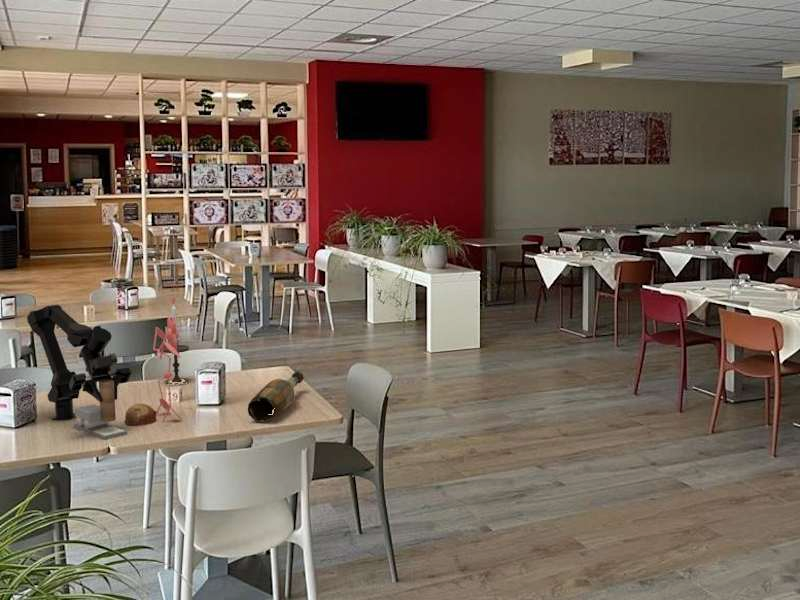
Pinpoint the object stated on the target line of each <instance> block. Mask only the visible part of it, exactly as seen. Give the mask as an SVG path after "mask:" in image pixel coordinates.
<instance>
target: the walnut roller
mask: <svg viewBox="0 0 800 600" xmlns="http://www.w3.org/2000/svg"><path fill="white" fill-rule="evenodd" d="M98 388H99V389H98V390H99V393H100V395H101V398H102V402H101V403H100V402H99V406H100V413H101V421H103V422H109V423H110V422H115V421H116V415H117V414H116V400H115V394H114V381H113V380H102V381H99V382H98Z"/></svg>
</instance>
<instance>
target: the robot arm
mask: <svg viewBox="0 0 800 600" xmlns="http://www.w3.org/2000/svg"><path fill="white" fill-rule="evenodd" d="M26 320H27V324H28V325H29V327H30V328H31V330H32V332H33V333H34V334H36V335H37V336H38V337H39V338H40V342H41V344H42V345H41V346H42V347H43V350H44V353H45V356H46V358H47V362H48V365H49V367H50V370H51V373H52V377H51V378H52V379H51V382H50V385H51V389H50V390H49V392H48V393H47V399H48V402H50V403H54V409H55V413H54V414H55V415H54V416H53V417H51V419H52V420H72V419H73V418H74V417H76V416H75V412H74V399H79V397H80V396H79V395H80V391H81V390H82V392H86V393H87V394H89V395H91V396H92V397H93V398H94V399H96V401H98V402H99V404H100V403H101V402H102V398H101V395H100V393H99V389H98V388H99V387H98V386H97V383H99V381H102V380H113V381H114V394H115V401H117V400H118V386H119V385H120V384H125V383H128V382H129V380H130V378H131V376H132V373H133V372H132V370H131V368H130V367H128V366H125V367H123V366H122V367H117V368H116V370H115V372H113V373H109V372H110V371H111V370H112V369H111V367H113V366H114V365H115V364H118V358H117V355H116V353H109V355H105V356H103V355H102V353H103V351H104V350H106V347H108V345H109V343H110V342H111V340H112V337H113V336H112V334H111V331H109V330H107V329H106V328H103V327H102V326H101V325H96V326H93V328H92V327H90V326H88V325H86V324H82V323H79V322H78V321H76V320H75V319H74V318H73V317H72V316H70V315H69V314H68V313H67V312H66V311H65V310H64V309H63V308H62V306H61V305H60V304H51V305H46V306H44V307H43V308H40V309H37V310H31V311H29V314H28V315H27V318H26ZM56 326H58V327H59V328H60V329H61V330H62V331H63V332H64V333H65V334H66V335H67V337H66V338H67V339H66V340H67V341H68V342H69V343H70V345H71V346H72V347H73V348H78V347H82V348H81V349H80V352H79V354H78V358H82V361H83V362H84V365H85V372H86V373H87V372H88V375H87V374H86V373H84V372H83V373H77V374H76V372H75V371H74V370H73V371H71V370H69V369H68V367H67V364H66V361H65V357H64V356H63V353H62V350H61V348H60V345H59V342H58V338H57V336H56V333H55V328H56ZM101 352H102V353H101Z"/></svg>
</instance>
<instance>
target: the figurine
mask: <svg viewBox="0 0 800 600" xmlns="http://www.w3.org/2000/svg"><path fill="white" fill-rule="evenodd" d="M166 323H167V325H166V327H167V328H166V329H165V331H163V330H162V329H160V328H159V327H158V326H155V328H154V331H155V333H154V334H155V335H154V338H153V339H154V340H153V347H152V348H153V349H152V350H153V351H156V352H157V354H158V357H159V360H161V359H162V357H163V356H166V357H167V358H169V359H168V361H169V362H168V370H167V371H165V372H164V374H163V377H162V378H160V379H158V380H157V384H158V387H159V391H160V395H161V397H160V398H158V399H159V406H158V408H157V410H156V417H157V415H158V414H159V411H160V409H161V407H162V408H164V410H166V412H165V414H164V416H163V419H162V422H163V423H164V422H165V420H166V417H167V415H168V413H169V412H170V411H171V410H172V412H173V413H174V414H175V415H176V416H177V417H178V419H179V420H180V421H182V418H181V417H180V416H179V415H178V413H177V412H176V410H174V408H172V403H171V402H172V401H171V400H172V399H171V389H170V388H171V386H170V379H172V376H173V374H172V372H171V371H170V370H171V362H172V357H171V356H170V355H169V354H167V353H165V352H163V348H164V347H165V346H166V347H167V348H168V349H169V351H170V352H172V353H173V354H172V353H171V354H172V355H173V356H174V355H176V356H177V358H179V359H181V358H182V357H181V355H180V353H179V354H178V352H177V340H178V339H179V337H180V331H179V329H178V328H177V329H176V322H175V317H173V318H172V317H171V316H170V315H168V316H167V322H166ZM157 337H160V338H161V339H162V343H161V344H160V346H159V348H157V349H156V342H157ZM166 340H168V341H167V342H166ZM161 348H162V350H161ZM163 379H166V380H169V385H168V397H169V403H168V401H166V399H165V398H164V397H163V392H162V388H161V384H160V381H162V380H163ZM185 409H189V410H192V411H196V412H198V410H196V409H194V408H192V407H185ZM165 426H166V427H167V426H170V424H168V425H167V424H166V425H164V427H165Z"/></svg>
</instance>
